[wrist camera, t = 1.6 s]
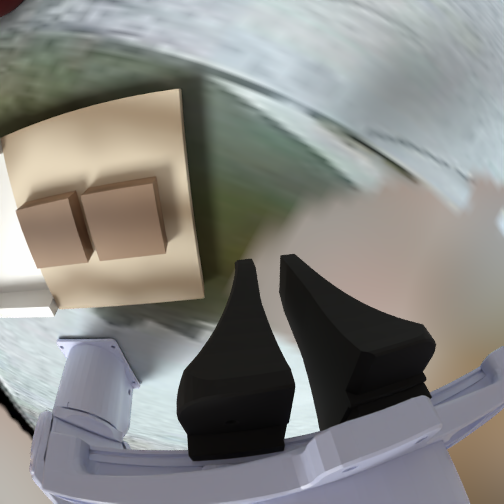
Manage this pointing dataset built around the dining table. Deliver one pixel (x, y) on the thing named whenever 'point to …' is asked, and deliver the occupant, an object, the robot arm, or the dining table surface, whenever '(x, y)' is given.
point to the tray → (18, 263)
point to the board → (106, 172)
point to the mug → (8, 6)
